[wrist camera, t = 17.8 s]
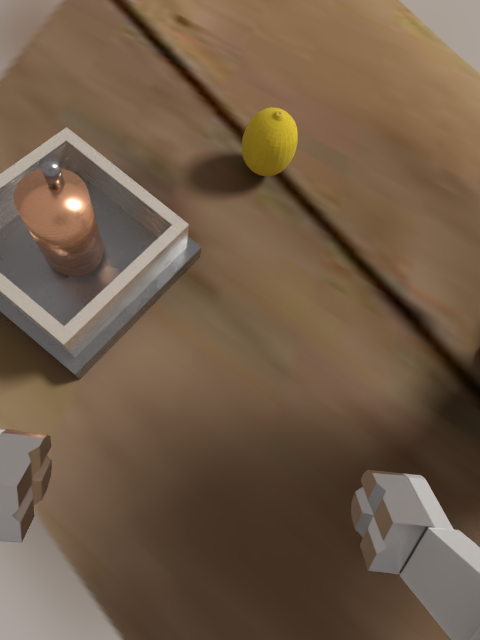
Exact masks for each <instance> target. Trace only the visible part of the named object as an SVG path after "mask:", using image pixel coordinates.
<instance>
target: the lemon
mask: <svg viewBox="0 0 480 640" xmlns="http://www.w3.org/2000/svg"><path fill="white" fill-rule="evenodd" d="M297 140H298V133H297V127H296V124H295V121H294V120H293V118H292V117H291V116H290V115H289V114H288V113H287V112H285V111H284V110H282V109H279V108H267V109H263V110H262V111H260V112H258V113H257V114H256V115H255V116H254V117H253V118H252V119H251V121H250V122H249V124H248V126H247V128H246V130H245V132H244V135H243V141H242V154H243V158H244V161H245V163H246V165H247V166H248V167H249V168H250V170H252V171H253V172H254V173H256V174H258V175H261V176H272V175H276V174H278V173H280V172H281V171H283V170H284V169H285V168H286V167H287V166H288V165H289V163H290V161H291V160H292V158H293V156H294V154H295V151H296V146H297Z"/></svg>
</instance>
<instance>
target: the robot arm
mask: <svg viewBox="0 0 480 640" xmlns="http://www.w3.org/2000/svg"><path fill="white" fill-rule="evenodd" d="M50 448H51V438H50V436H49V435H45V434H38V433H30V432H23V431H15V430H8V429H6V430H5V429H0V541H6V542H22V541H23V539H24V537H25V534H26V532H27V530H28V528H29V526H30V524H31V522H32V520H33V518H34V505H35V504H37V503H38V502H40V501H41V500H42V499H43V497H44V494H45V492H46V490H47V487H48V484H49V480H50V477H51V469H52V460H51V459H50V458H49V457H48V456H47V454H48V452H49V450H50ZM361 483H362V486H363V487H362V488H360V489H359V490H357V491H356V492H355V494H354V496H353V499H352V504H351V516H352V521H353V525H354V528H355V530H356V531H357V532H358V533H359V534H360V535H361V536H362V537H363V539H362V541H361V544H360V547H361V550H362V553H363V557H364V560H365V563H366V566H367V569H368V571H375V572H384V573H393V574H401V575H400V577H401V578H402V579H403V581H404V582H405V583H406V584H407V586H408V587H409V588H410V589H411V591H412V592H413V593H414V594H415V595H416V597H417V598H418V599H419V600H420V602H421V603H422V604H423V605H424V607H425V608H426V609H427V610H428V612H429V613H430V614H431V615H432V616H433V618H434V619H435V620H436V621H437V623H438V624H439V625H440V626H441V628H442V629H443V630H444V631H445V632H446V634H447V635H448V636H449V637H450V639H451V640H480V547H479V546H477V545H476V544H475V543H474V542H473V541H471V540H470V539H469V538H468V537H467V536H466V535H464V534H463V533H462V532H461V531H460V530H454V529H453V527H452V526H451V524H450V522H449V520H448V518H447V517H446V515H445V513H444V511H443V509H442V508H441V506H440V504H439V502H438V500H437V499H436V497H435V495H434V493H433V492H432V490H431V488H430V486H429V484H428V483H427V481H426V479H425V478H424V477H423V476H421V475H413V474H401V473H393V472H383V471H373V470H367V471H366V472H364V473H363V476H362V478H361Z"/></svg>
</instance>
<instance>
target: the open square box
mask: <svg viewBox="0 0 480 640" xmlns="http://www.w3.org/2000/svg"><path fill="white" fill-rule="evenodd" d="M46 156H51V157H54V158H56V159H57V161H58V163H59V166H60V168H63V169H66V170H69V171H71V172H73V173H75V174H76V175H78V176H79V177H80V178H81V179H82V180H83V181H84V183H85V184H86V186H87V189H88V192H89V196H90V199H91V203H92V207H93V210H94V214H95V217H96V221H97V224H98V228H99V232H100V235H101V239H102V242H103V246H104V254H103V258H102V260H101V262H100V263H99V265H98V266H97V267H96V268H95V269H94V270H92V271H91V272H89V273H86V274H84V275H79V276H68V275H63V274H61V273H58V272H57V271H55V270H54V269H53V268H51V266H50V265H49V264H48V262H47V261H46V259H45V257H44V256H43V254H42V252H41V250H40V249H39V247H38V245H37V244H36V242H35V240H34V239H33V237H32V235H31V233H30V232H29V230H28V228H27V227H26V225H25V223H24V221H23V220H22V218H21V216H20V215H19V213H18V211H17V210H16V207H15V205H14V200H13V195H14V190H15V188H16V185H17V184H18V182H19V181H20V180H21V179H22V178H23V177H24V176H25V175H27V174H28V173H30V172H32V171H34V170H37V169H40V166H39V162H40V160H41V159H42V158H43V157H46ZM188 230H189V224H188V223H186V222H185V221H184V220H183V219H181V218H180V217H179V216H177V215H176V214H175V213H174V212H172V211H171V210H170V209H169V208H167V207H166V206H165V205H164V204H162V203H161V202H160V201H159V200H157V199H156V198H155V197H154V196H152V195H151V194H150V193H149V192H147V191H146V190H145V189H144V188H142V187H141V186H140V185H139V184H137V183H136V182H135V181H134V180H132V179H131V178H130V177H128V176H127V175H126V174H125V173H123V172H122V171H121V170H120V169H118V168H117V167H116V166H115V165H113V164H112V163H111V162H110V161H108V160H107V159H106V158H105V157H103V156H102V155H101V154H100V153H98V152H97V151H96V150H95V149H93V148H92V147H91V146H90V145H88V144H87V143H86V142H85V141H83V140H82V139H81V138H79V137H78V136H77V135H76V134H74V133H73V132H72V131H71V130H69V129H68V128H67V127H66V128H65V129H63V130H62V131H61V132H59V133H58V134H56V135H55V136H53V137H52V138H51V139H49V140H48V141H46V142H45V143H44V144H42V145H41V146H39V147H38V148H37V149H35V150H34V151H32V152H31V153H30V154H28V155H27V156H25V157H24V158H22V159H21V160H20V161H18V162H17V163H15V164H14V165H13V166H11V167H10V168H8V169H7V170H6V171H4V172H3V173H1V174H0V312H1V313H2V314H4V315H5V316H6V317H7V318H8V319H10V320H11V321H12V322H13V323H14V324H15V325H17V326H18V327H19V328H20V329H21V330H22V331H24V332H25V333H26V334H27V335H28V336H29V337H31V338H32V339H33V340H34V341H35V342H37V343H38V344H39V345H40V346H41V347H42V348H44V349H45V350H46V351H47V352H48V353H49V354H51V355H52V356H53V357H54V358H55V359H56V360H58V361H59V362H60V363H61V364H62V365H64V366H65V367H66V368H67V369H68V370H69V371H71V372H72V373H73V374H74V375H75V376H76V377H78V378H79V379H80V378H81V377H82V376H83V375H84V374H85V373H86V372H87V371H88V370H89V369H90V368H91V367H92V366H93V365H94V364H95V363H96V362H97V361H98V360H99V359H100V358H101V357H102V356H103V355H104V354H105V353H106V352H107V351H108V350H109V349H110V348H111V347H112V346H113V345H114V344H115V343H116V342H117V341H118V340H119V339H120V338H121V337H122V336H123V335H124V334H125V333H126V332H127V331H128V330H129V329H130V328H131V327H132V326H133V324H134V323H135V322H136V321H137V320H138V319H139V318H140V317H141V316H142V315H143V314H144V313H145V312H146V311H147V310H148V309H149V308H150V307H151V306H152V305H153V304H154V303H155V302H156V301H157V300H158V299H159V298H160V297H161V296H162V295H163V294H164V293H165V292H166V291H167V290H168V289H169V288H170V287H171V286H172V285H173V284H174V283H175V282H176V281H177V280H178V279H179V278H180V277H181V276H182V275H183V274H184V273H185V272H186V270H187V269H188V268H189V267H190V266H191V265H192V264H193V263H194V262H195V261H196V260H197V259H198V258H199V257H200V253H201V246H199V245H198V244H197V243H196V242H194V241H193V240H192V239H190V238H189V237H188Z"/></svg>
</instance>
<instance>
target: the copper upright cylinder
mask: <svg viewBox="0 0 480 640" xmlns="http://www.w3.org/2000/svg"><path fill="white" fill-rule="evenodd" d="M39 166H40V169H37V170H34V171H32V172H30V173H28V174H27V175H25V176H24V177H23V178H22V179H21V180H20V181H19V182H18V184H17V185H16V188H15V190H14V195H13V200H14V205H15V207H16V210H17V211H18V213H19V215H20V216H21V218H22V220H23V221H24V223H25V225H26V227H27V228H28V230H29V232H30V233H31V235H32V237H33V239H34V240H35V242H36V244H37V245H38V247H39V249H40V250H41V252H42V254H43V256H44V257H45V259H46V261H47V262H48V264H49V265H50V266H51V268H53V269H54V270H55V271H57V272H58V273H61V274H63V275H68V276H79V275H84V274H86V273H89V272H91V271H92V270H94V269H95V268H96V267H97V266H98V265H99V263H100V262H101V260H102V258H103V254H104V246H103V242H102V239H101V235H100V232H99V228H98V224H97V221H96V217H95V214H94V210H93V207H92V203H91V199H90V196H89V192H88V189H87V186H86V184H85V183H84V181H83V180H82V179H81V178H80V177H79V176H78V175H76V174H75V173H73V172H71V171H69V170H66V169H63V168H60V166H59V163H58V161H57V159H56V158H54V157H51V156H46V157H43V158H42V159H41V160H40V162H39Z"/></svg>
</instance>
